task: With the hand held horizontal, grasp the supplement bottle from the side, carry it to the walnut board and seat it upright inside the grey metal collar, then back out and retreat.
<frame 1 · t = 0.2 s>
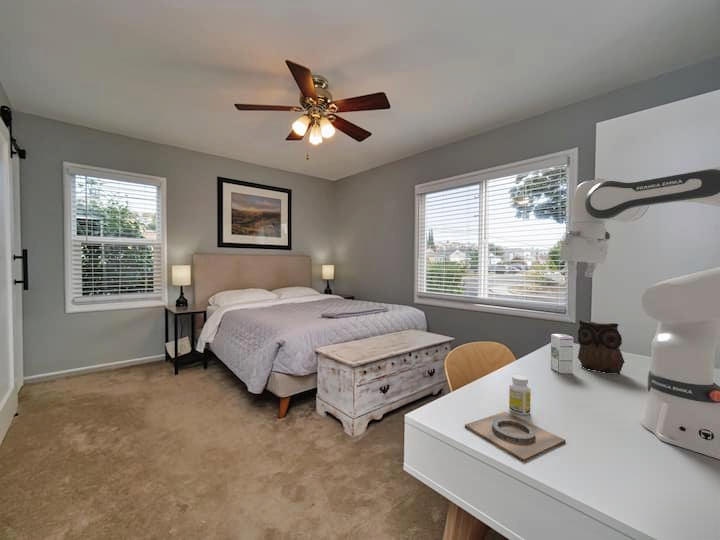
hand: (580, 276, 98), 39 cm above the table, tool pointing down, fingers open, 8 cm apart
supplement bottle: (519, 411, 89), on the table
owl: (601, 369, 128), on the table
syrup box: (561, 371, 124), on the table
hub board: (513, 434, 76), on the table
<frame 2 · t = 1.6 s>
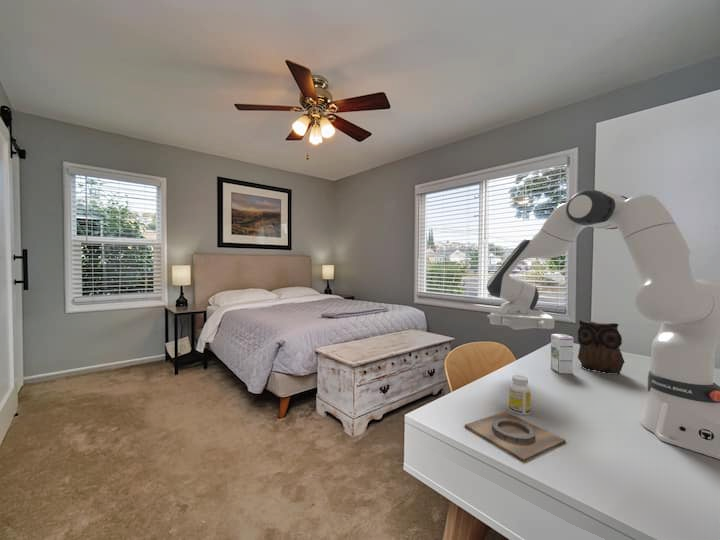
hand: (525, 324, 101), 23 cm above the table, tool horizontal, fingers open, 8 cm apart
nothing on the table moved.
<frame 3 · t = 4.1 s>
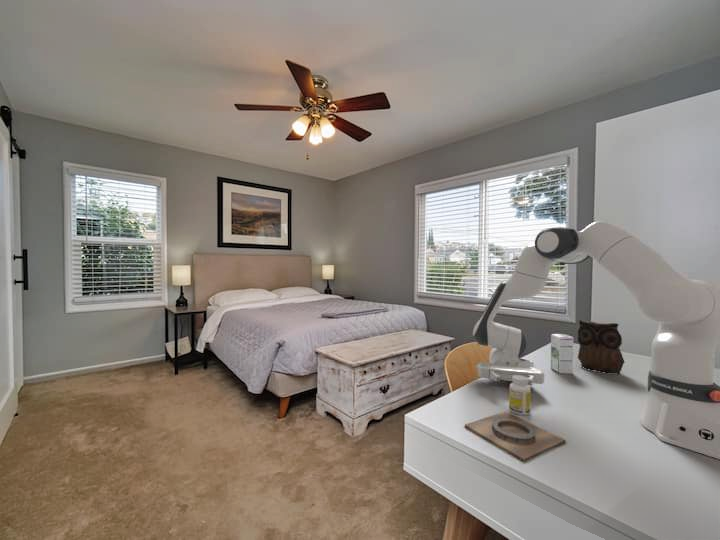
hand: (513, 380, 98), 5 cm above the table, tool horizontal, fingers open, 8 cm apart
nothing on the table moved.
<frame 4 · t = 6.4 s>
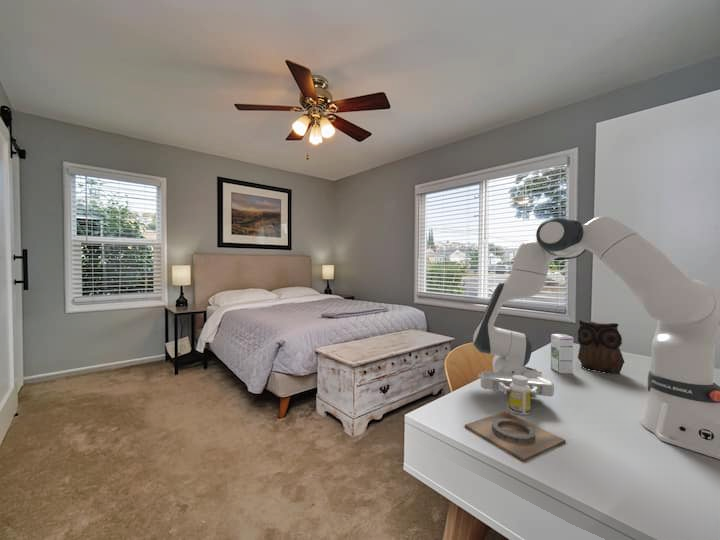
hand: (520, 393, 88), 6 cm above the table, tool horizontal, fingers closed on supplement bottle, 5 cm apart
supplement bottle: (519, 411, 89), on the table, touching gripper
everything else where it was.
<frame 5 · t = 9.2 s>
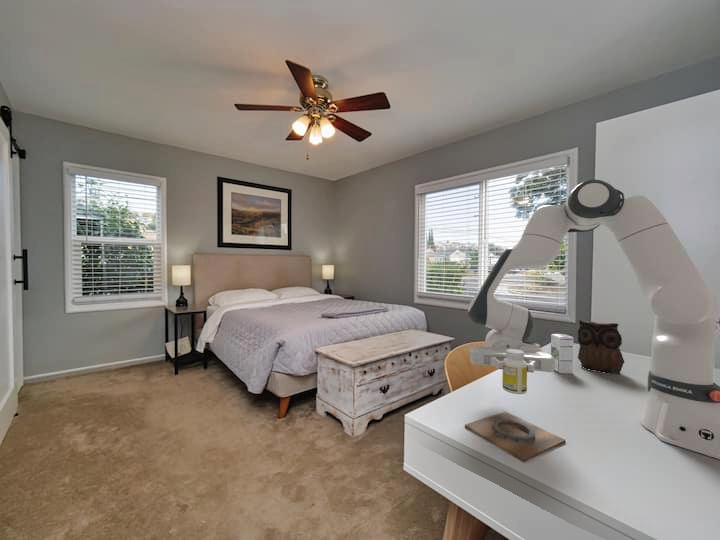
hand: (515, 367, 75), 17 cm above the table, tool horizontal, fingers closed on supplement bottle, 5 cm apart
supplement bottle: (514, 391, 76), point 11 cm above the table, touching gripper
everything else where it was.
when the fingers open (7 cm above the table, at t = 11.9 s): supplement bottle stays where it is, resting on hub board.
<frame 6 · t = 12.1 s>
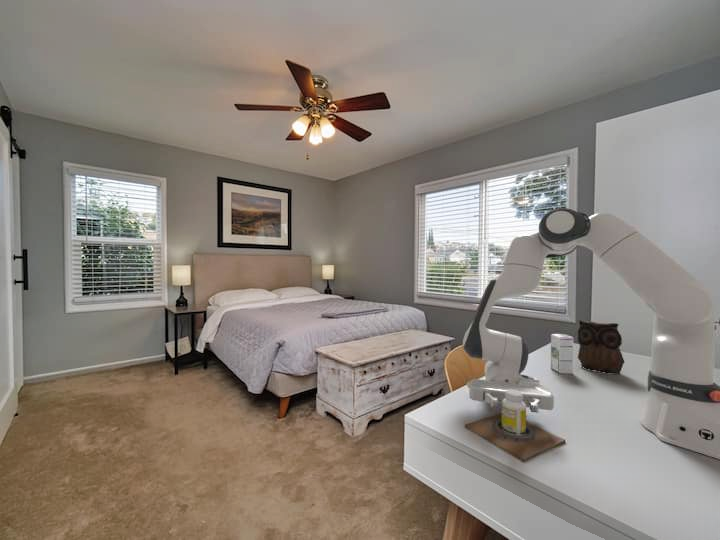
hand: (514, 406, 75), 7 cm above the table, tool horizontal, fingers open, 8 cm apart
supplement bottle: (513, 432, 76), resting on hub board
everything else where it was.
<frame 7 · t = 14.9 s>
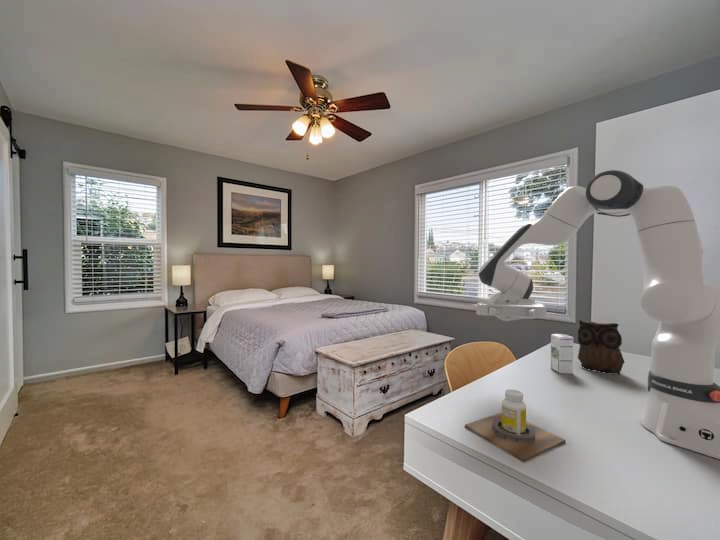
hand: (514, 313, 92), 28 cm above the table, tool horizontal, fingers open, 8 cm apart
nothing on the table moved.
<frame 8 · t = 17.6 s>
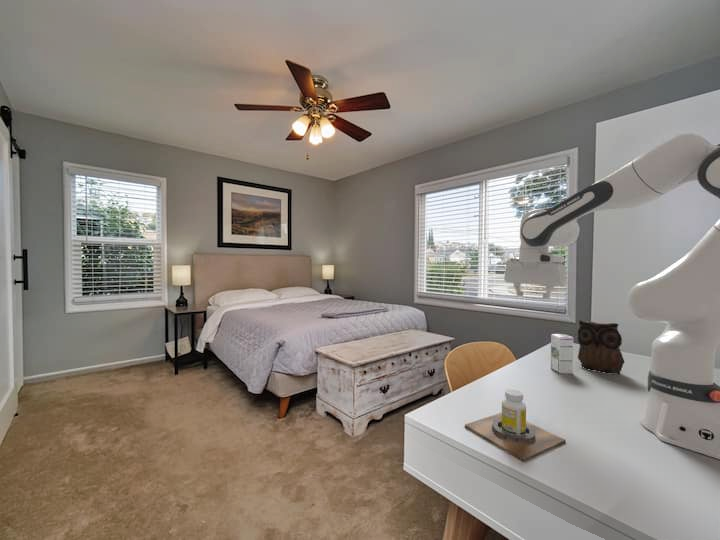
hand: (532, 297, 107), 31 cm above the table, tool pointing down, fingers open, 8 cm apart
nothing on the table moved.
at the end: supplement bottle 0.1 cm off-centre on the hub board, point 0.4 cm above the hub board's base; supplement bottle tilted 0°; the gripper is holding nothing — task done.
